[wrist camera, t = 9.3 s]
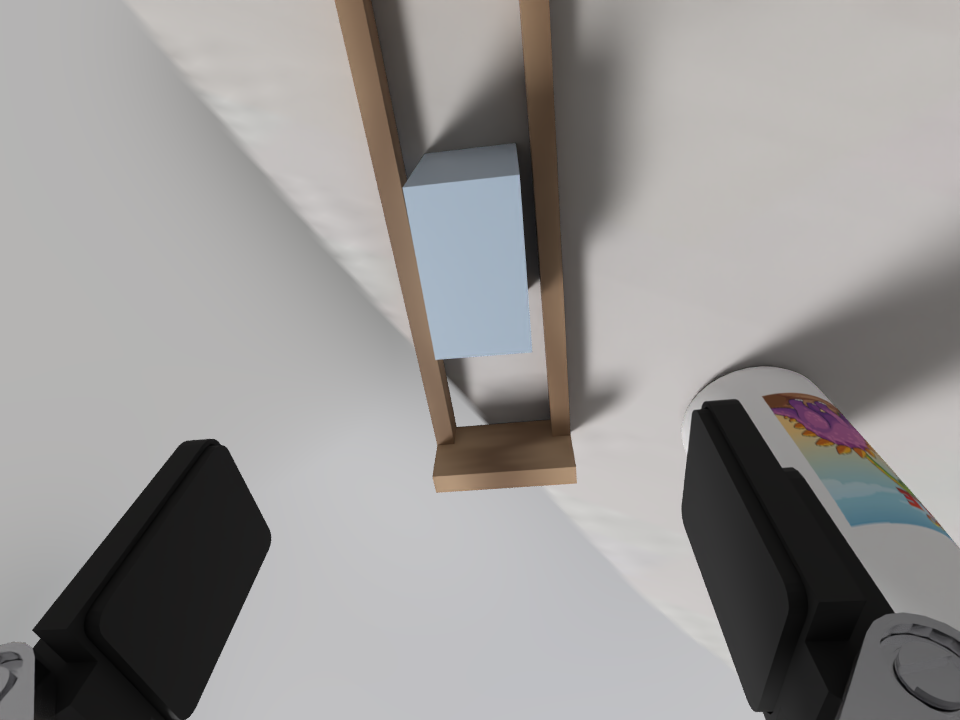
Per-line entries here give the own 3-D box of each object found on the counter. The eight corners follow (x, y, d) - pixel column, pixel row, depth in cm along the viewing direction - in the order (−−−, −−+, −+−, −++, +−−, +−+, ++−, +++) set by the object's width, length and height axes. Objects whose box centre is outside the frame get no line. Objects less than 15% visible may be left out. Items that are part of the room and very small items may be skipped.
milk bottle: (713, 484, 33) (941, 970, 16) (653, 407, 29) (856, 906, 13) (838, 427, 30) (1281, 942, 13) (786, 335, 27) (1278, 853, 10)
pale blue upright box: (515, 142, 22) (519, 174, 17) (526, 290, 26) (532, 352, 21) (425, 153, 23) (402, 187, 18) (448, 297, 26) (435, 359, 21)
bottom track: (536, -182, 17) (544, -237, 13) (568, 434, 31) (576, 483, 27) (314, -138, 18) (269, -180, 14) (443, 443, 31) (436, 492, 28)
